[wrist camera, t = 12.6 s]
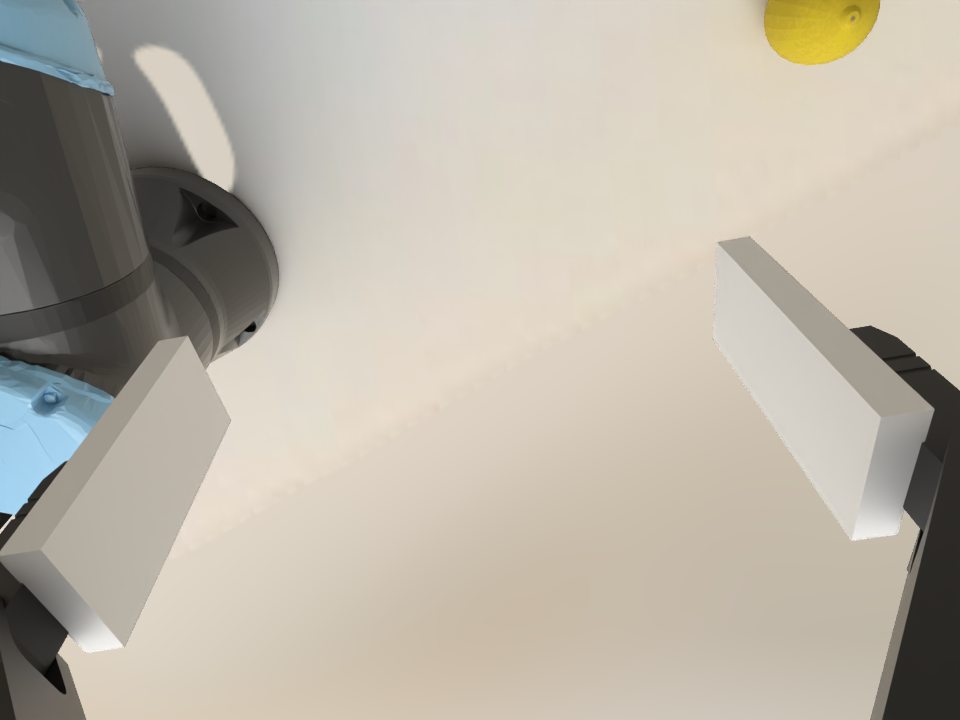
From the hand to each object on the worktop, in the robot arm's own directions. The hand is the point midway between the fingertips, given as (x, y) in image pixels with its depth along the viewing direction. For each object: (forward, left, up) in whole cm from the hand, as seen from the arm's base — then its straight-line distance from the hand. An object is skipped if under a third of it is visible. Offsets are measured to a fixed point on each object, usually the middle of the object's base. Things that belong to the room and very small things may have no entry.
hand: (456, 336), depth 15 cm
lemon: (+21, +3, -32) cm, 39 cm away
